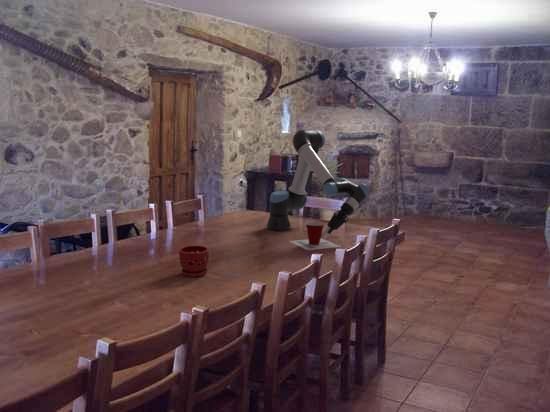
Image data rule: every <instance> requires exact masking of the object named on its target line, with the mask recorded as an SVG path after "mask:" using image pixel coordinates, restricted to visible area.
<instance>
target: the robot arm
mask: <svg viewBox="0 0 550 412" xmlns="http://www.w3.org/2000/svg"><path fill="white" fill-rule="evenodd" d="M325 144H326V138H325V135H324V133H323V132H322V131H321V130H318V129H300V130H298V131H296V132H295V133H294V134H293V137H292V145H293V148H294V150H295V151H296V154H298V155H299V159H298V162H297V166H296V170H295V173H294V177H293V180H292V184H291V186H289V187H288V189H287V190H278V191H277V190H276V191H273V192H271V194H270V196H269V218H268V219H267V222H266V223H267V224H266V229H267V230H269V231H273V232H274V231H276V232H285V231H290V230H291V222H290V218H289V212H291V211H299V210H301V209H304V207H306V205H307V202H308V196H307V191H306V190H305V189H306V186H307V183H308V179H309V176H310V172H311V171H312V172H313V174H314V175H315V176H316V178H317V179H318V181H319V182H320V183H321V185H322V190H323V193H324V195H326V196H329V197H330V196H333V197H334V196H337V195H347V196H348V198H347V199H346V200H345V201H344V202H343V204H342V205H341V206H340V210H338V211H337V212H336V211H335V212H333V214H332V216H331V218H330V220H329V221H328V222H327V228H326V229H325V231H324V232H322V234H321V237H322V238H323V239H324V240H326V239H327V238H328V237H329V235H330V234H332V232H333V231H334V230H335V231H337V230H338V229H339V228H340V227H341V226H343V225H344V224H345V223H346V222H348V220H349V219H350V218H349V216H352V215H353V213H354V212H355V210H357V209H358V207H359V206H360V205H361V204H362V203H363V201H364V200H365V199H366V198H367V197H368V195H369V194H370V191H371V190H370V188H369V186H368V185H366V184H365V183H362V182H361V183H359V184H355V183H354V182H353V181H350V180H349V179H346V178H343V177H342V178H339V179H338V180H336V179H335V178H334V176H333V175H332V173H331V172H330V170H329V169H328V168H327V167H326V166H325V164H324V163H323V161H322V160H321V158H320V157H319V156H318V153H319V150H320V149H322V148H324V146H325Z"/></svg>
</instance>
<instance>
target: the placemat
mask: <svg viewBox="0 0 550 412" xmlns="http://www.w3.org/2000/svg"><path fill="white" fill-rule="evenodd" d="M288 242H289V243H290V244H293V245H295V246H297V247H299V248H301V249H304V250H306V251H312V250H313V251H314V250H324V249H325V250H326V249H335V248H342V246H341V245H338V244H336V243H333V242H331V241H329V240H326V239H325V238H323V237H321V239H320V243H319V245H311V244H309V239H308V238H307V239H299V240H298V239H297V240H288Z"/></svg>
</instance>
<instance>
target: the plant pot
mask: <svg viewBox="0 0 550 412" xmlns="http://www.w3.org/2000/svg"><path fill="white" fill-rule="evenodd" d="M178 253H179V255H178V256H179V263H180V266H181V268H182V269H181V273H182V274H183V276H186V277H189V278H190V277H195V278H196V277H202V276H205V274H207V273H208V268H207V267H208V264H209V258H210V256H209V255H210V252H209V247H207V246H204V245H185V246H182V247H181V248H179V251H178Z"/></svg>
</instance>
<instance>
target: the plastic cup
mask: <svg viewBox="0 0 550 412" xmlns="http://www.w3.org/2000/svg"><path fill="white" fill-rule="evenodd" d="M305 225H306V226H305V227H306V230H307V239H309V244H311V245H319V243H320V239H321V238H322V234H323V229H324V226H325V223H324V222H323V223H322V222H305Z"/></svg>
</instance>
